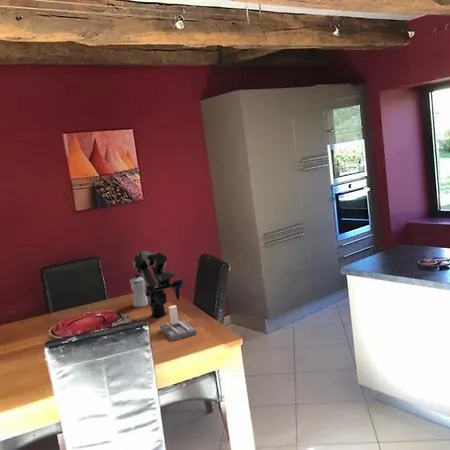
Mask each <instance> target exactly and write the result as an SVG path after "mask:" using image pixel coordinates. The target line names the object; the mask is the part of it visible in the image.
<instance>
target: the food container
mask: <svg viewBox="0 0 450 450" xmlns="http://www.w3.org/2000/svg"><path fill="white" fill-rule="evenodd" d="M128 322H130V323H132V318H131V317H130V315H128V314H121V317H119V318H118V319H116V321H115V322H112V323H111V328H112V327H113V326H116V325H119V324H123V323H128Z"/></svg>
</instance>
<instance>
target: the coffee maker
mask: <svg viewBox="0 0 450 450" xmlns="http://www.w3.org/2000/svg"><path fill="white" fill-rule="evenodd" d="M134 276H135V277H134V278H132V279H130V280H129V283H130V287H131V290H132V292H133V293H132V306H133V307H135V308H142V307H144V306H145V307H146V306H148V302H147V300H148V296H146V295H145V288H146V283H145V281H144V279H143V276H142V275H141V276H140V273H139V272H136V273H134Z"/></svg>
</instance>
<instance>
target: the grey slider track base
mask: <svg viewBox="0 0 450 450" xmlns="http://www.w3.org/2000/svg"><path fill="white" fill-rule="evenodd" d="M178 322H179V323H180V325H177V326H173V327H172V326H171V325H170V324H169V323H170V322H166V324H163V325H160V326H159V328H160V329H159V330H160V331H161V332H162V333H163V334H164V335H165V336H166V337H168V338H169V340H171V341H175V340H180V339H183V338H186V337H190V336H194V335H197V329H196V328H195V327H193V326H192V325H190V324H189V323H188V322H187V321H185V320H180V321H179V320H178Z"/></svg>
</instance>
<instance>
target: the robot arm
mask: <svg viewBox="0 0 450 450" xmlns="http://www.w3.org/2000/svg"><path fill="white" fill-rule="evenodd" d="M167 261H168V259H167V256H166V255H164V254H162V253H161V252H154V253H152V252H150V251H148V250H147V249H146V250H145V249H144V250H140V251H137V255H135V257H133V261H132V266H133V268H134V269H135V271H136V273H139V274H141V276H142V278H143V279H144V281H145V295H146V297H147V302H148V304H147V306H149V307H150V310H151V314H150V315H149V317H151V318H157V319H160V318H162V317H164V316H166V315H167V314H168V313H167V312H166V310H165V306H164V305H165V304H167V293H166V292H165V291H164V290H166V289H167V290H168V289H171V288H173V289H174V290H173V291H174V294H175V296H176V299H177V301H180V291H181V289H183V286H184V283H185V282H184V280H183V279H182V278H178V279H174V281H173V282H172V283H171V280H172V278H174V277H175V273H174V271H173V270H169V271H168V272H165V267H166V265H167ZM150 267H151V268H150ZM150 269H151V271H150Z"/></svg>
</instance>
